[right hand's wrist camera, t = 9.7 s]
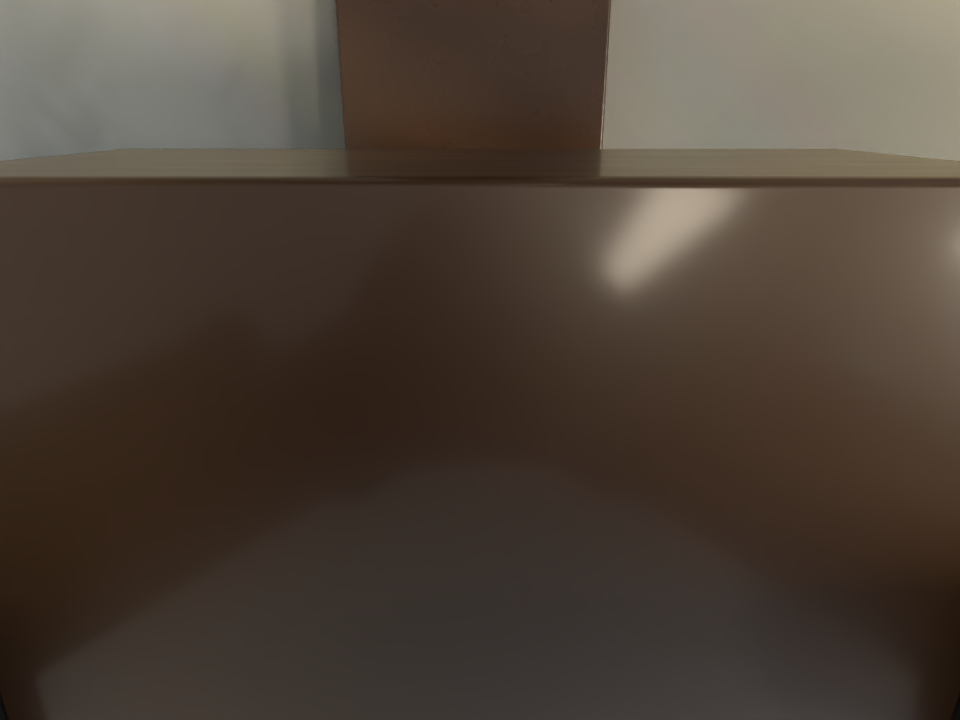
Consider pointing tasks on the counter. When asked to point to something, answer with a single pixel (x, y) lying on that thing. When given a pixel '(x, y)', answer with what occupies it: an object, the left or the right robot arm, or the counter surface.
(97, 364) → the lid
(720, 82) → the counter surface
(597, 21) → the wooden base with post
